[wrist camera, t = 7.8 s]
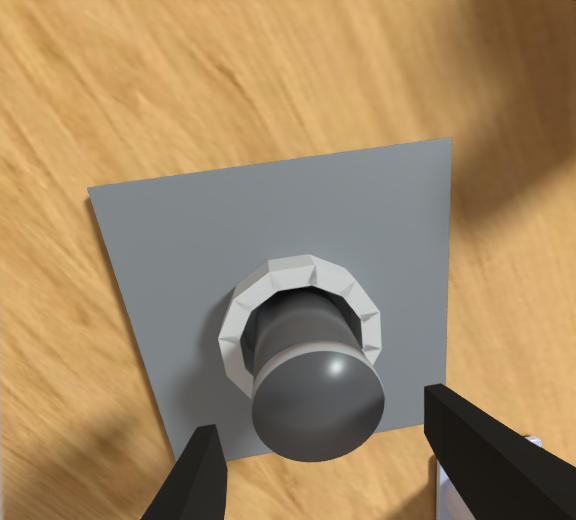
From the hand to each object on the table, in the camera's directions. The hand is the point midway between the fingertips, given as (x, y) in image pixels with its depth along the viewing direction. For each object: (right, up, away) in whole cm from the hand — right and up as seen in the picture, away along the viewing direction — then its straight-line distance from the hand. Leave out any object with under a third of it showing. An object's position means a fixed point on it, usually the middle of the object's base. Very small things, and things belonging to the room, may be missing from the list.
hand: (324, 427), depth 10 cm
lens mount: (-1, +2, +8) cm, 8 cm away
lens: (-1, +2, +7) cm, 7 cm away
